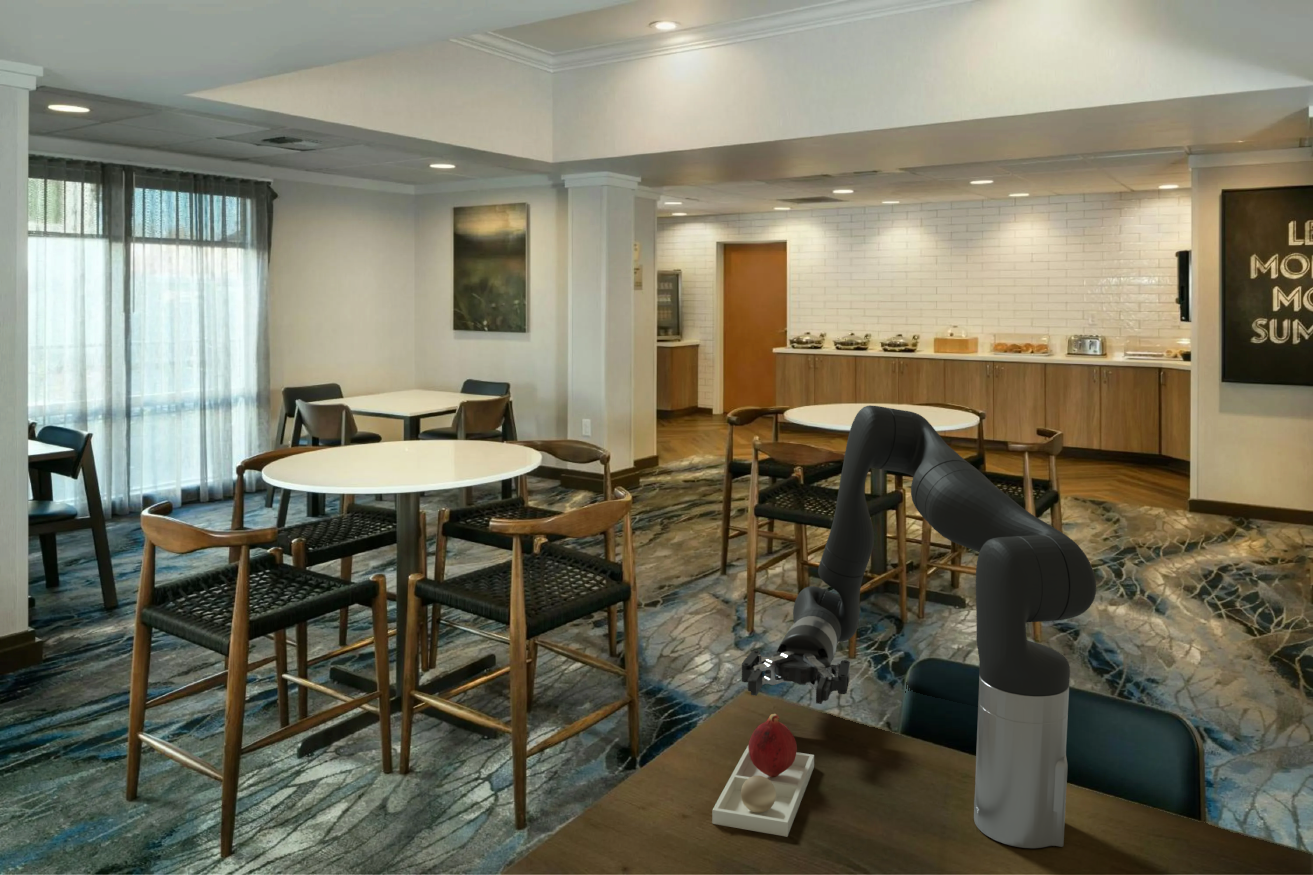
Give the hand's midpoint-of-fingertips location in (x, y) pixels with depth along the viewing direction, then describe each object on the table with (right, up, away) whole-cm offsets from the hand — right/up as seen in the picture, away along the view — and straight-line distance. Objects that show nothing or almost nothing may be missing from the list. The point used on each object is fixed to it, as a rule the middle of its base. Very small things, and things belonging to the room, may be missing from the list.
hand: (785, 692), depth 123 cm
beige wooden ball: (-5, -10, -14) cm, 18 cm away
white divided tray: (-4, -10, -10) cm, 15 cm away
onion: (-2, -9, -6) cm, 11 cm away
